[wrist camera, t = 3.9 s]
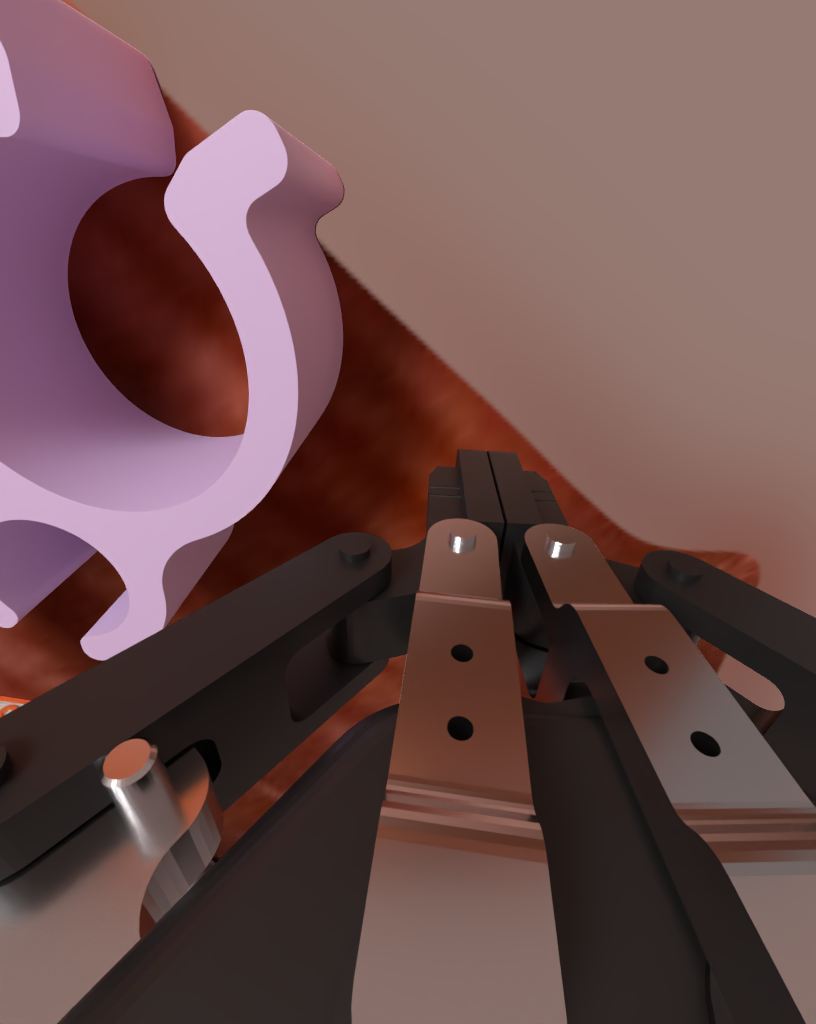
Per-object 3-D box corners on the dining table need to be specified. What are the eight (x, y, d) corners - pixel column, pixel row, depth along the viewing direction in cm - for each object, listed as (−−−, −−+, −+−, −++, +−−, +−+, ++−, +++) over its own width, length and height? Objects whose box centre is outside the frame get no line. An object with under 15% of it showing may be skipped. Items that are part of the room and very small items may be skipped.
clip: (252, 589, 26) (196, 693, 20) (23, 499, 23) (-119, 585, 17) (408, 209, 16) (390, 188, 10) (44, -5, 14) (-255, -194, 8)
